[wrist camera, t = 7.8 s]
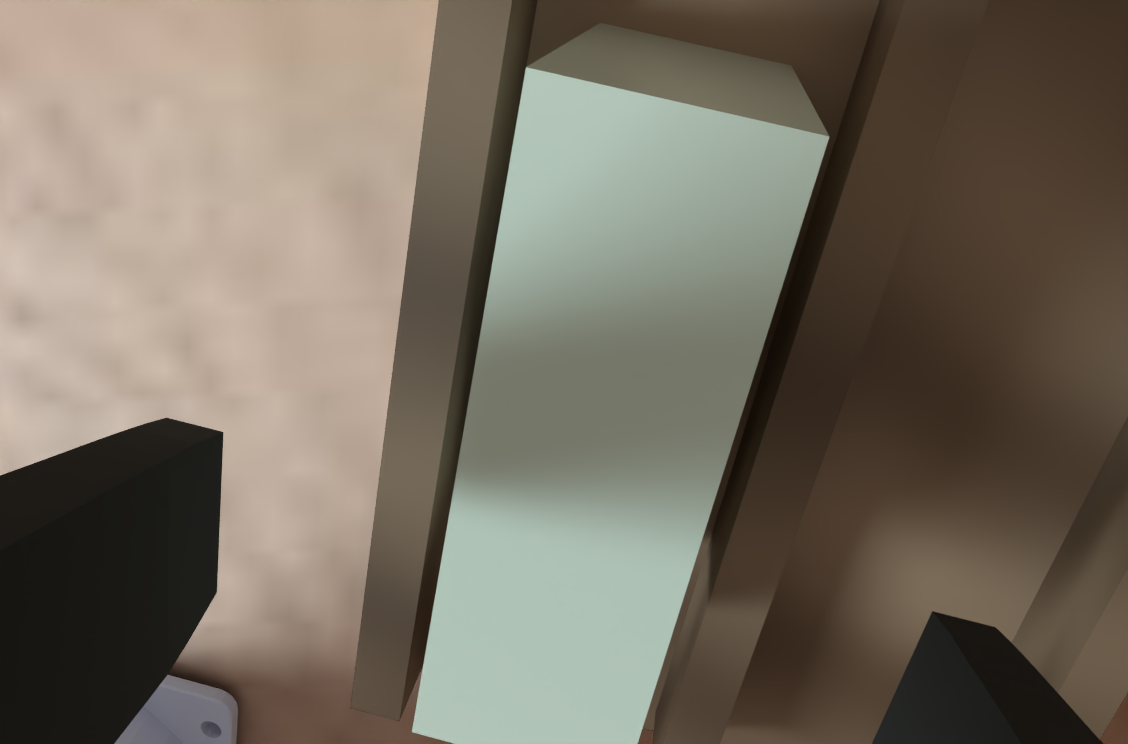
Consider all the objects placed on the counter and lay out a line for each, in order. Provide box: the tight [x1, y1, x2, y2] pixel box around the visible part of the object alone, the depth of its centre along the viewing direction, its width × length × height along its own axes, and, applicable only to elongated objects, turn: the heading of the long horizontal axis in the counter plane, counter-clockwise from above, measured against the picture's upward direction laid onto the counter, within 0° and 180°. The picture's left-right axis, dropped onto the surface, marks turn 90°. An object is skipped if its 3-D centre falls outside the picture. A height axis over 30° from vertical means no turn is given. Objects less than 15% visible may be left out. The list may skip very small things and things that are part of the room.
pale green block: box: [412, 23, 829, 744], centre depth 14 cm, size 9×3×6 cm, turn 169°
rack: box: [350, 0, 1128, 744], centre depth 16 cm, size 18×14×3 cm
